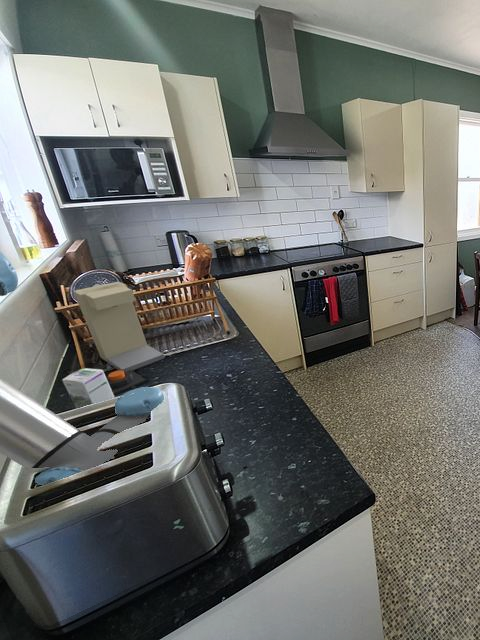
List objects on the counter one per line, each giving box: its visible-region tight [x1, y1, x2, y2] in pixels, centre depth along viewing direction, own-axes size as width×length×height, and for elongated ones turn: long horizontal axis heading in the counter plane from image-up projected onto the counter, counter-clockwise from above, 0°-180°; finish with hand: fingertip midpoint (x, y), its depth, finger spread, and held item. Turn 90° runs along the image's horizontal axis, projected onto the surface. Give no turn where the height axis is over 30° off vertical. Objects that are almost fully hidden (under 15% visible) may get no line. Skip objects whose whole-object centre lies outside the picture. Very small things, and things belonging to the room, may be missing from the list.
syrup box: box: [61, 367, 115, 409], centre depth 90 cm, size 6×6×14 cm
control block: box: [106, 370, 147, 396], centre depth 106 cm, size 10×10×3 cm
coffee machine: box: [72, 281, 165, 372], centre depth 116 cm, size 12×18×25 cm, turn 58°
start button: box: [107, 370, 125, 381], centre depth 106 cm, size 4×4×2 cm
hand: (101, 402), depth 88 cm, fingers open, 13 cm apart
